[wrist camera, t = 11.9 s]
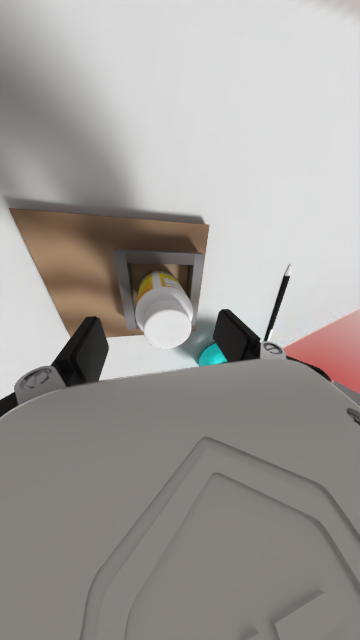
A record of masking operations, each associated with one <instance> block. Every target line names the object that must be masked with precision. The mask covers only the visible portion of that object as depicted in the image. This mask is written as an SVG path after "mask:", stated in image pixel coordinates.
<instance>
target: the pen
mask: <svg viewBox="0 0 360 640" xmlns="http://www.w3.org/2000/svg"><path fill="white" fill-rule="evenodd" d="M290 272H291V265H290V266H289V267H288V269H287V271H286V273H285V275H284V278H283V281H282V285H281V288H280V291H279V294H278V297H277V301H276V304H275V307H274V310H273V313H272V317H271V320H270V323H269V326H268V330H267V333H266V336H265V339H264V341H269V340H270V337H271V334H272V331H273V329H272V328H273V325H274V322H275V319H276V316H277V313H278V311H279V308H280V305H281V302H282V299H283V296H284V293H285V290H286V287H287V284H288V281H289V278H290Z"/></svg>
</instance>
